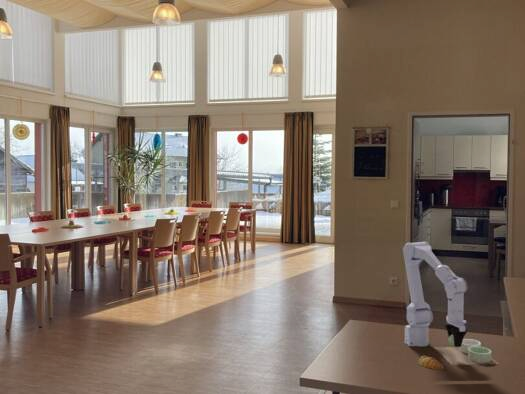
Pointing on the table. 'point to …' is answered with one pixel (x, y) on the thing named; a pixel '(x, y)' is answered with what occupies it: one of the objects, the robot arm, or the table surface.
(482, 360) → the cup green
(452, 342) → the ball
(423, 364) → the pastry
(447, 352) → the board
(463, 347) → the cup grey
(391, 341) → the table surface
